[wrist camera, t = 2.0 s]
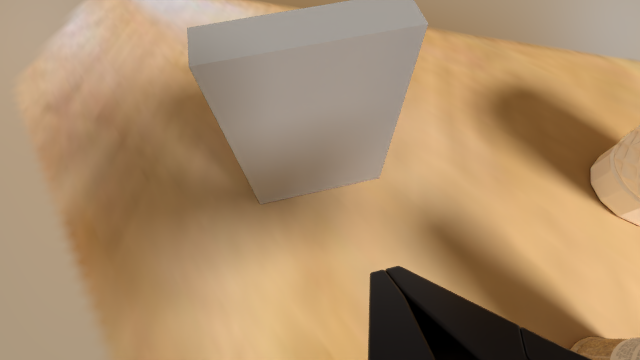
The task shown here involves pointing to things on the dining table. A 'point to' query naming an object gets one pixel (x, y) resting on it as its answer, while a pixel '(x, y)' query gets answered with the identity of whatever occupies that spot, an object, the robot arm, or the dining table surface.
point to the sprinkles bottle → (608, 348)
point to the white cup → (620, 177)
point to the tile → (309, 90)
